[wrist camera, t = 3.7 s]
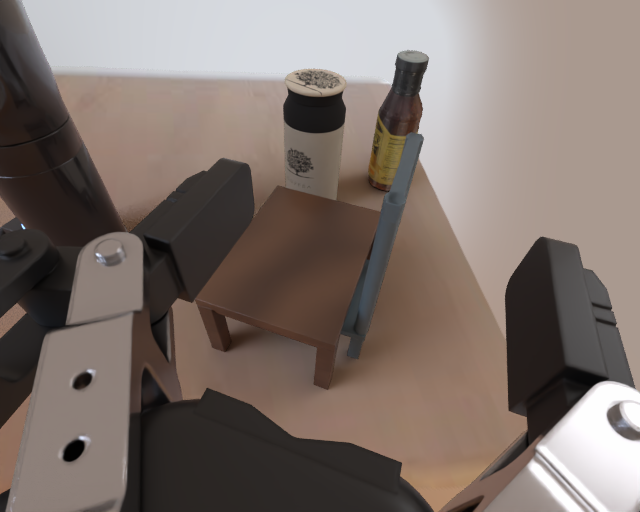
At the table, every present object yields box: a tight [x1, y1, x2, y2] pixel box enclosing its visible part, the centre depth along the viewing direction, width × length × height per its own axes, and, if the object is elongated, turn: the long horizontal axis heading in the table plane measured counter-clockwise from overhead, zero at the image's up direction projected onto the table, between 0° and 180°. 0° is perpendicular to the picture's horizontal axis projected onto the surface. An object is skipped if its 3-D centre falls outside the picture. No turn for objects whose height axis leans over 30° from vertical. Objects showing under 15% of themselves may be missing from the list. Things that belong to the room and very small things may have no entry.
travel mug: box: [283, 69, 346, 200], centre depth 49 cm, size 8×8×18 cm
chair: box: [340, 132, 424, 359], centre depth 34 cm, size 10×10×21 cm
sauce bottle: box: [368, 50, 429, 191], centre depth 52 cm, size 7×6×20 cm
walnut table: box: [195, 186, 381, 390], centre depth 39 cm, size 13×18×9 cm
